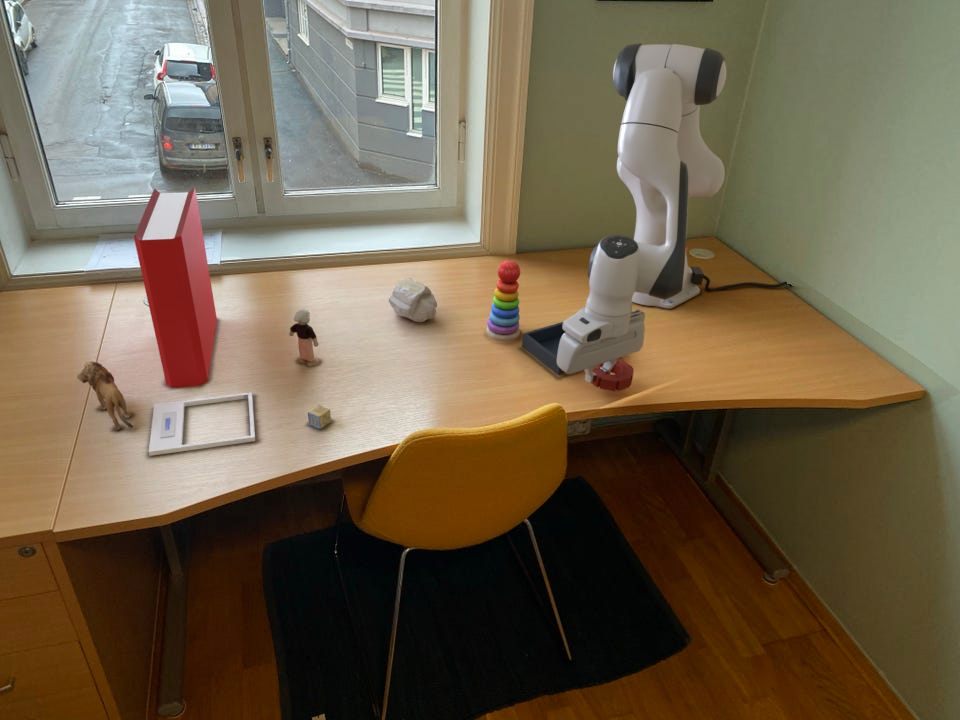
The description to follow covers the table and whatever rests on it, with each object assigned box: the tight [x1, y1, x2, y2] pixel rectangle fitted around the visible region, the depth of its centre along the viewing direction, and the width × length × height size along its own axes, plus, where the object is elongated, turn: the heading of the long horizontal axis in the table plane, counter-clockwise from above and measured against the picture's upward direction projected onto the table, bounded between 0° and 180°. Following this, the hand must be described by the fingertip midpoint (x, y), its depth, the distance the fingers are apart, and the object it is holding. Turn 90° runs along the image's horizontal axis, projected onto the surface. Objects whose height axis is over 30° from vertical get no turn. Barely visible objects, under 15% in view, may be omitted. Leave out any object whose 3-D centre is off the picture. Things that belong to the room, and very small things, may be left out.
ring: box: [590, 358, 634, 392], centre depth 150 cm, size 9×9×2 cm
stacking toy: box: [485, 260, 521, 342], centre depth 166 cm, size 8×8×19 cm
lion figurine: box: [76, 360, 134, 431], centre depth 136 cm, size 15×5×9 cm, turn 50°
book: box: [133, 187, 218, 389], centre depth 149 cm, size 27×8×32 cm, turn 13°
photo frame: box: [148, 391, 256, 457], centre depth 137 cm, size 15×1×18 cm
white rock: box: [388, 277, 438, 323], centre depth 174 cm, size 12×8×10 cm
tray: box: [521, 321, 567, 376], centre depth 164 cm, size 18×14×4 cm
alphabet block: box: [307, 404, 332, 430], centre depth 138 cm, size 3×3×3 cm
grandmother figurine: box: [288, 307, 320, 367], centre depth 154 cm, size 8×4×13 cm, turn 71°
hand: (596, 378), depth 149 cm, fingers closed on ring, 2 cm apart
